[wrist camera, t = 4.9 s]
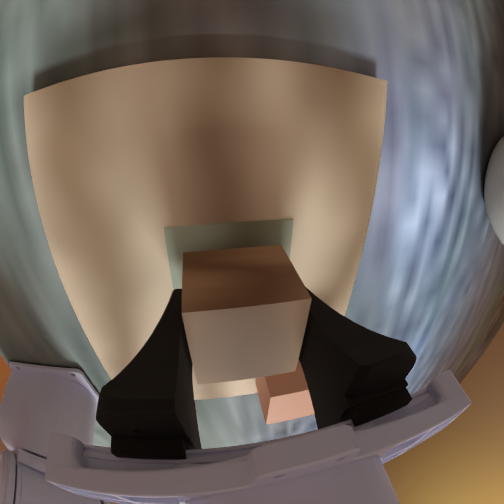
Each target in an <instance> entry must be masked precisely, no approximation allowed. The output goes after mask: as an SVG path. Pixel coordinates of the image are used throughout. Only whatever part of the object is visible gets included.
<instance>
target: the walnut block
mask: <svg viewBox="0 0 504 504" xmlns="http://www.w3.org/2000/svg"><path fill="white" fill-rule="evenodd" d="M311 300H312V298H311V296H310V294H309V293H308V291H307V289H306V287H305V285H304V284H303V282H302V280H301V278H300V277H299V275H298V273H297V271H296V269H295V268H294V266H293V264H292V262H291V261H290V259H289V257H288V255H287V254H286V252H285V250H284V248H283V247H282V245H272V246H259V247H246V248H233V249H221V250H208V251H196V252H183V269H182V317H183V322H184V327H185V332H186V337H187V342H188V346H189V351H190V355H191V359H192V363H193V368H194V372H195V376H196V380H197V384H209V383H219V382H228V381H237V380H244V379H252V378H258V377H265V376H271V375H277V374H283V373H288V372H293V371H296V367H297V363H298V359H299V355H300V350H301V346H302V342H303V337H304V333H305V328H306V324H307V319H308V314H309V310H310V305H311Z"/></svg>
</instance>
